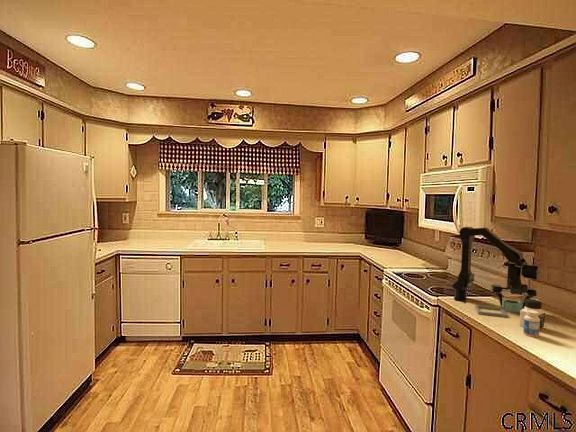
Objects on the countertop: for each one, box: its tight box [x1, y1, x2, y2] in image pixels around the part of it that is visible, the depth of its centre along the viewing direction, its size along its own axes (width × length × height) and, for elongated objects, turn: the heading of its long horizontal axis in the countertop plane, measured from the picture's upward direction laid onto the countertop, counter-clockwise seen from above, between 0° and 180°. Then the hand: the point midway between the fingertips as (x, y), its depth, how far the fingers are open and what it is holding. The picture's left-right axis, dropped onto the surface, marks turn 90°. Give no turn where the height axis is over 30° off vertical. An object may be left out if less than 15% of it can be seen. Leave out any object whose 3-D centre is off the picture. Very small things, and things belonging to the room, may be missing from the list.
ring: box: [501, 298, 522, 313], centre depth 183 cm, size 9×7×4 cm
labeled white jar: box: [519, 298, 546, 331], centre depth 162 cm, size 7×7×12 cm
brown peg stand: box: [500, 299, 520, 314], centre depth 184 cm, size 8×8×5 cm
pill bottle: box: [522, 310, 540, 338], centre depth 153 cm, size 6×5×10 cm
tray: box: [474, 304, 508, 319], centre depth 179 cm, size 12×12×2 cm
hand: (512, 307), depth 184 cm, fingers open, 9 cm apart
